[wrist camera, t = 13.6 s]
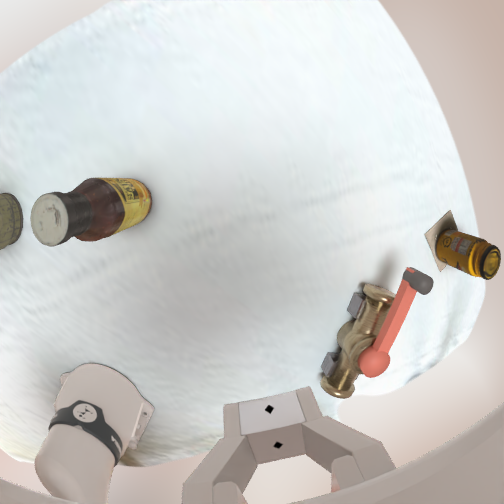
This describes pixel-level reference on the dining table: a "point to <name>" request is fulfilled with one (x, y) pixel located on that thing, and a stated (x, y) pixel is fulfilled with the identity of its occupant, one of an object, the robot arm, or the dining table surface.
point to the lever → (393, 322)
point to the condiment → (462, 249)
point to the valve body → (355, 339)
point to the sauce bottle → (90, 210)
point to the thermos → (9, 220)
